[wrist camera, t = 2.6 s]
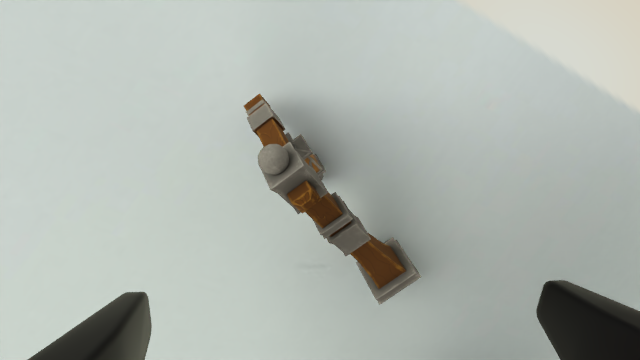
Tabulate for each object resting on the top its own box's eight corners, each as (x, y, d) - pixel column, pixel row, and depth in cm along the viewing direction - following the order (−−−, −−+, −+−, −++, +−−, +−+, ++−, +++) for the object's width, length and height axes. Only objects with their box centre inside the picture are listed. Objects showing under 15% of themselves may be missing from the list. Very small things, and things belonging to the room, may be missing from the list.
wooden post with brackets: (257, 59, 11) (309, 147, 8) (368, 197, 17) (424, 281, 14) (209, 97, 11) (240, 198, 8) (334, 221, 17) (381, 309, 14)
